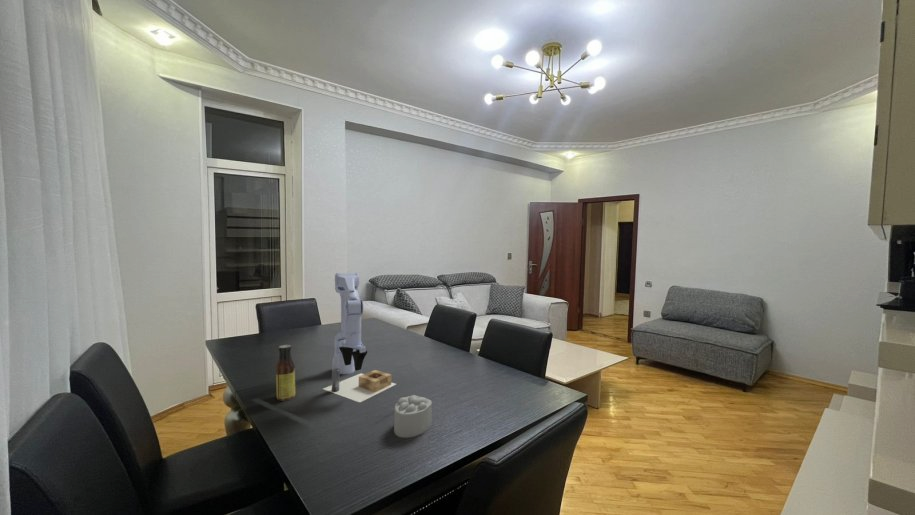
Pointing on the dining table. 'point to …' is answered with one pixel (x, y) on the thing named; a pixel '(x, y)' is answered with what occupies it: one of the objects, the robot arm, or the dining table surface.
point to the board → (355, 389)
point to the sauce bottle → (285, 374)
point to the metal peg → (335, 379)
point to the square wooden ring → (375, 380)
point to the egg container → (412, 416)
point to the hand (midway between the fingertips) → (352, 367)
